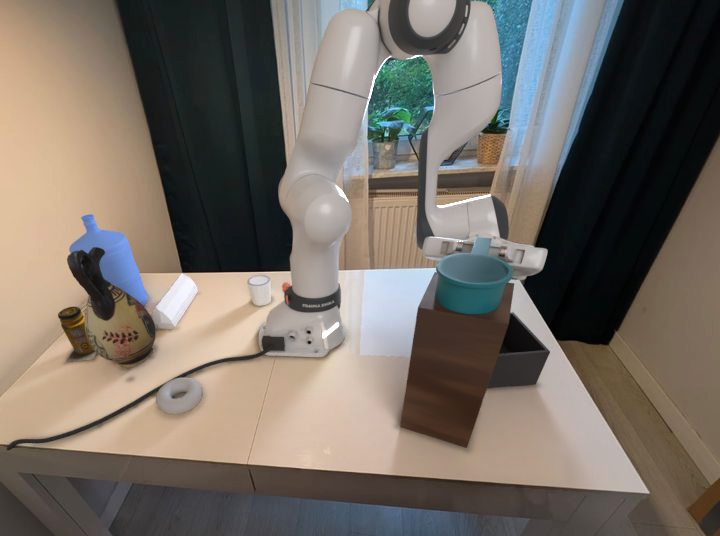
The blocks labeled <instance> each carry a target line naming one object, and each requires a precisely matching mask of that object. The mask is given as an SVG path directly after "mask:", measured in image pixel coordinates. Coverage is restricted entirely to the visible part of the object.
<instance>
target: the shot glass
mask: <svg viewBox="0 0 720 536" xmlns="http://www.w3.org/2000/svg"><path fill="white" fill-rule="evenodd" d="M246 282H247V283H246V284H247V287H248V291H249V294H250V297H251V301H252V304H253V305H255V306H258V307H259V306H260V307H261V306H265V305H268V304H270V303H271V301H272V289H271V288H272V286H271V285H272V284H271V277H270V276H268V275H266V274H257V275H253V276H251V277H249V278H248V279H247V281H246Z"/></svg>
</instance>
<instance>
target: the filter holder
mask: <svg viewBox="0 0 720 536" xmlns="http://www.w3.org/2000/svg"><path fill="white" fill-rule="evenodd" d="M491 240H492V238H483V237H476V240H475V243H474V246H473V249H472V251H471V253H458V254H452V255H448V256H446V257H443V258H442V259H440V260H439V261H437V263H436V264H435V265H436V267H435V272H437V274H438V280H437V286H436V291H435V299H436V300H437V302H438V303H439V304H440V305H442V306H443V307H445V308H447V309H449V310H452V311H455V312H458V313H464V314H484V313H488V312H491V311H493V310H495V309H496V308H497V307H498V306H499V304H500V301H501V298H502V295H503V291H504V288H505V285H506V283H510V282H511V281H512V276H513V269H512V267H511V266H510V265H509V264H508V263H507V262H505V261H503V260H501V259H499V258H496V257H493V256H489V255H488V251H489V248H490V244H491Z"/></svg>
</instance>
